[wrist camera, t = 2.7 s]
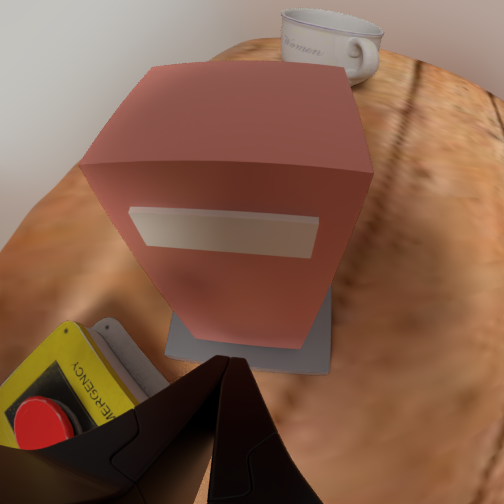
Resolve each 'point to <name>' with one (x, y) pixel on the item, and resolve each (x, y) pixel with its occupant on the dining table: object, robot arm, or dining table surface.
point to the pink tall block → (236, 191)
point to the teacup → (331, 41)
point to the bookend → (260, 347)
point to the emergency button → (75, 384)
